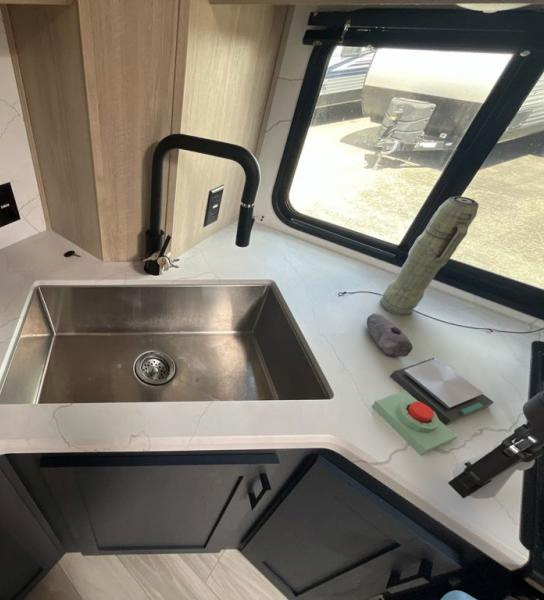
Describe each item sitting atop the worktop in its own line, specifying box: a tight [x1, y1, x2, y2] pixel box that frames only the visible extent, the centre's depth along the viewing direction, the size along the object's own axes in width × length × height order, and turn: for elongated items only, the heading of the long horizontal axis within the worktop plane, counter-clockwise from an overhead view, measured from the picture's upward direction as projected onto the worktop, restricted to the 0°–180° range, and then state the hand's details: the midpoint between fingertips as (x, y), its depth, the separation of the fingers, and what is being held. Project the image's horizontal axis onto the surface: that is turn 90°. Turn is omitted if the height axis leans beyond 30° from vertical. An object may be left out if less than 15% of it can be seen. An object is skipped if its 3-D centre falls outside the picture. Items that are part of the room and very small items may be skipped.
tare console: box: [371, 389, 458, 456], centre depth 70 cm, size 12×9×4 cm
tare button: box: [408, 402, 434, 423], centre depth 69 cm, size 4×4×2 cm
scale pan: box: [403, 358, 485, 409], centre depth 76 cm, size 11×11×1 cm
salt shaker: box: [452, 440, 536, 500], centre depth 54 cm, size 6×6×13 cm
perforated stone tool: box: [366, 312, 414, 358], centre depth 88 cm, size 15×5×7 cm, turn 179°
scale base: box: [389, 357, 495, 426], centre depth 77 cm, size 14×14×3 cm
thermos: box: [379, 195, 480, 316], centre depth 91 cm, size 9×12×35 cm
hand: (469, 483), depth 58 cm, fingers closed on salt shaker, 6 cm apart
